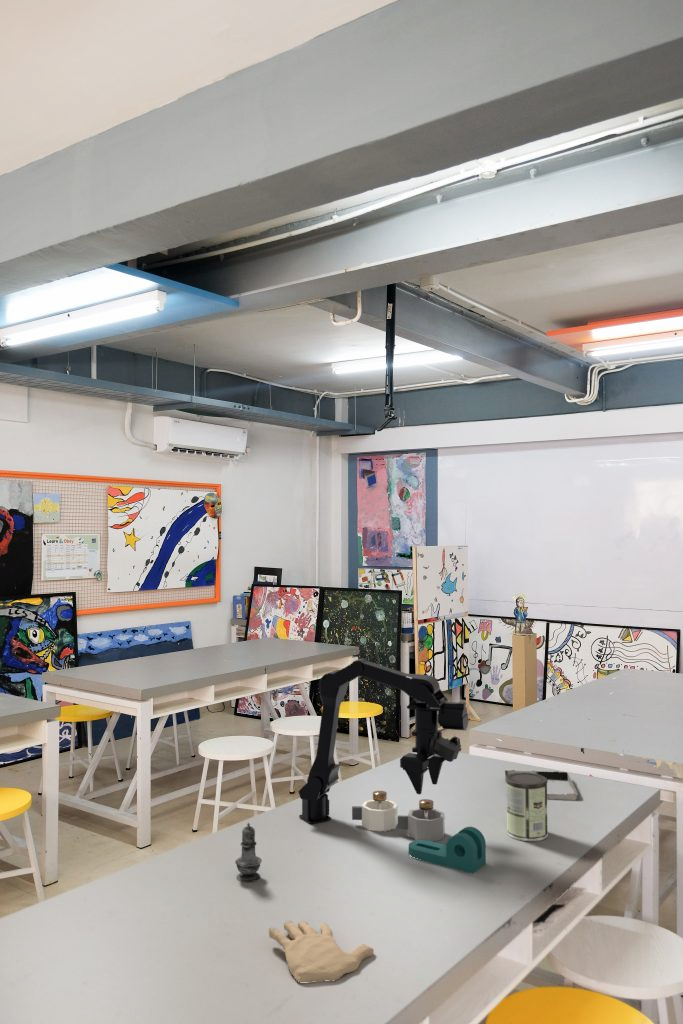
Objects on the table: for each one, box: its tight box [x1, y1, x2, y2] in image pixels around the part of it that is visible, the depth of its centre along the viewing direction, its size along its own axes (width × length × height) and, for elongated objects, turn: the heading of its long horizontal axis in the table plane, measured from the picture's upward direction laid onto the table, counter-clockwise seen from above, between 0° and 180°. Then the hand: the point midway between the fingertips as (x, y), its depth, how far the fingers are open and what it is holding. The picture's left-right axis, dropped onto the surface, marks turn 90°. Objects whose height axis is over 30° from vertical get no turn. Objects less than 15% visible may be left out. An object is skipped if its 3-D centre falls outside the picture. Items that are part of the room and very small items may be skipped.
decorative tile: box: [504, 769, 579, 801], centre depth 246 cm, size 20×3×20 cm
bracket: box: [408, 826, 487, 874], centre depth 193 cm, size 18×7×8 cm, turn 56°
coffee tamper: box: [418, 798, 434, 819], centre depth 209 cm, size 6×6×8 cm
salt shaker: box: [234, 822, 263, 883], centre depth 184 cm, size 6×6×12 cm
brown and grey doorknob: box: [372, 790, 388, 810], centre depth 216 cm, size 6×6×8 cm
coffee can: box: [505, 773, 549, 842], centre depth 209 cm, size 10×10×14 cm
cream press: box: [351, 799, 399, 832], centre depth 215 cm, size 11×9×5 cm
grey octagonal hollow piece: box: [397, 807, 446, 842], centre depth 208 cm, size 11×9×5 cm
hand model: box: [268, 918, 375, 982], centre depth 151 cm, size 19×5×20 cm
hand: (426, 789), depth 209 cm, fingers open, 9 cm apart
